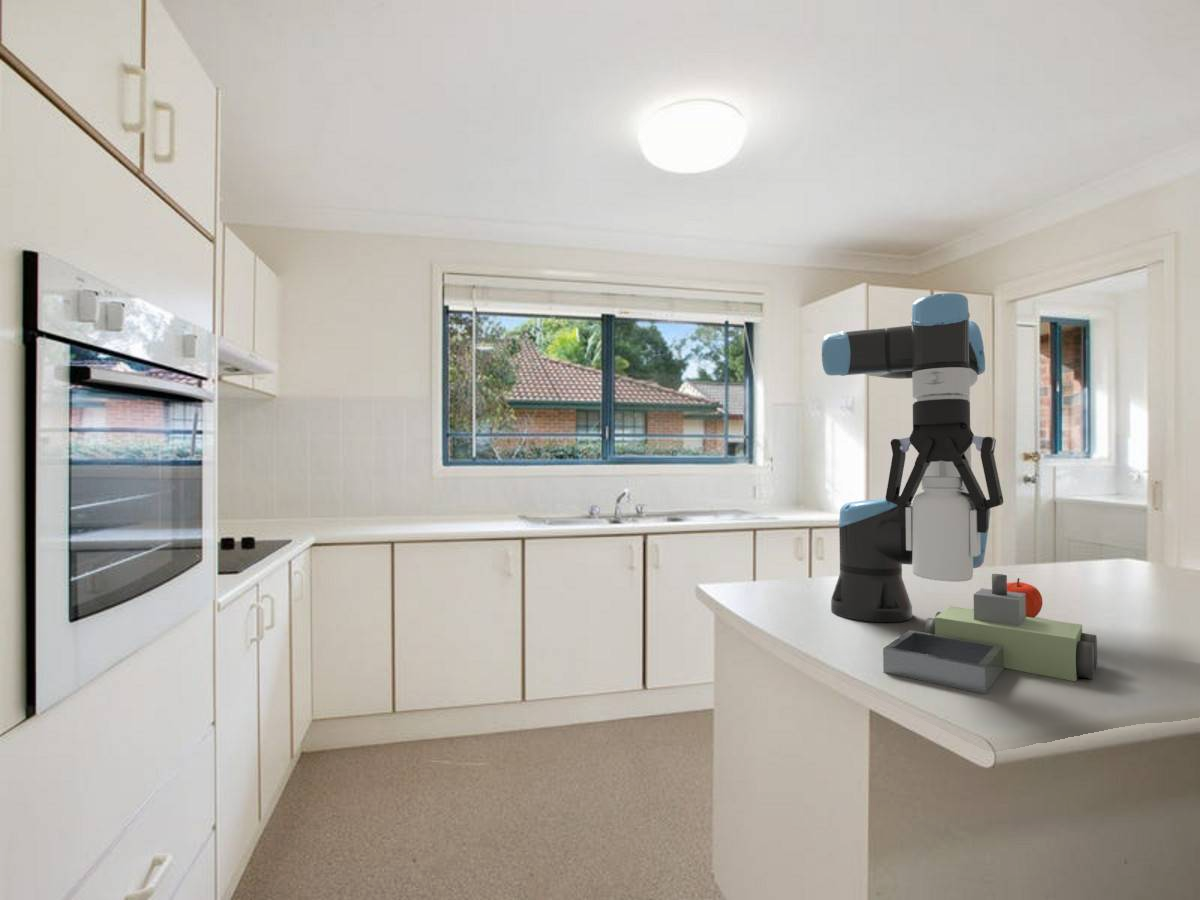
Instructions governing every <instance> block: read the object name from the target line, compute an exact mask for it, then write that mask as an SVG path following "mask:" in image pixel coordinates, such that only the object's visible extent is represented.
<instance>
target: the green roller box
mask: <svg viewBox="0 0 1200 900" xmlns="http://www.w3.org/2000/svg"><path fill="white" fill-rule="evenodd" d="M1007 583H1008V575H1006V574H1003V573H992V574H991V589H989V588H981V589H979V590H978V591H976V592H974V593H973V609H972V608H968V607H967V608H966V607H959V606H953V605H950V606H948V608H946V609H944V610H943V611H937V612H936V613H935V615H934V618H933V617H928V618H927V620H926V622H925V625H924V626H925V627H924V633H929V634H935V635H941V636H947V637H953V638H959V639H965V640H971V641H976V642H982V643H988V644H994V645H1000V646H1003V656H1004V668H1005V669H1009V670H1015V671H1019V672H1023V673H1024V672H1025V673H1030V674H1035V675H1040V676H1045V677H1051V678H1056V679H1060V680H1067V681H1072V682H1077V680H1078V677H1079V678H1084V679H1089V680H1094V674H1095V670H1097V665H1098V637H1097V635H1096V634H1092V633H1086V632H1085V633H1084V632H1083V624H1080V623H1073V622H1065V621H1059V620H1052V619H1044V618H1037V617H1034V618H1031V617H1026V606H1025V593H1017V592H1008V591H1007Z"/></svg>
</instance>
